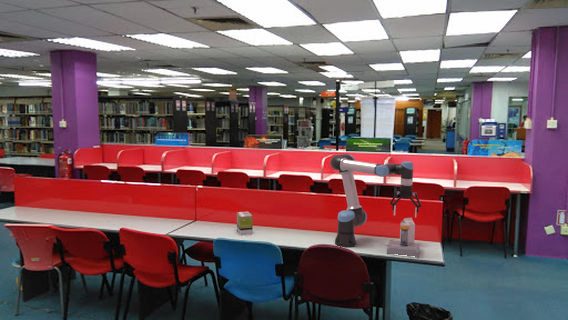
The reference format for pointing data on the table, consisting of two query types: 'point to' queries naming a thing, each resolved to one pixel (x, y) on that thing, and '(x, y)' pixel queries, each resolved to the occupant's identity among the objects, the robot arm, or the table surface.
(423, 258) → the table surface
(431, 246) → the table surface
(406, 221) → the milk carton
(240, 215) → the tea box
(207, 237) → the table surface
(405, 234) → the grey orange-topped cylinder
